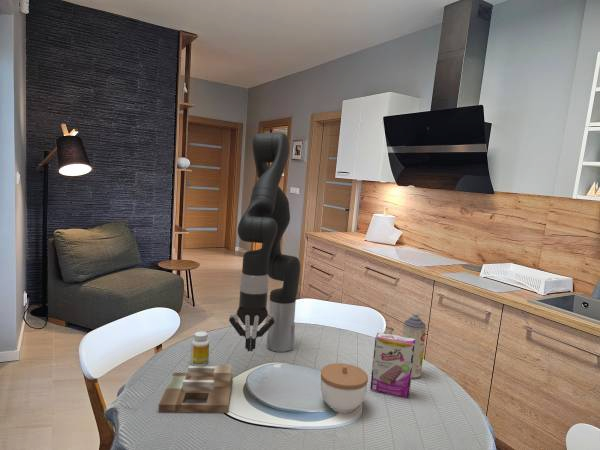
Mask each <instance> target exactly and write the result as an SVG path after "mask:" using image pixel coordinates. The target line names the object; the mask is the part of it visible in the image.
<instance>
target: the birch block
mask: <svg viewBox="0 0 600 450" xmlns="http://www.w3.org/2000/svg"><path fill="white" fill-rule="evenodd" d="M232 370H233V369H232V365H226V364H225V365H224V364H223V365H217V364H216V365H215V370H214V387H230V383H231V374H232Z"/></svg>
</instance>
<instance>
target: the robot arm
mask: <svg viewBox="0 0 600 450" xmlns="http://www.w3.org/2000/svg"><path fill="white" fill-rule="evenodd" d="M251 143H252V153H253V159H254V165H255V169H256V174H257V180H256V181H255V183H254V186H253V188H252V191H251V195H250V201H249V204H248V206H247V209H246V211H244V213H243V214H242V216H241V218H240V221H239V223H238V225H237V236H238V238H239V239H240V240H241V241H243V242H245V243H253V244H254V243H257V244H262V246H261V247H260V248H259V249H254V250H249V251H246V252H244V253H243V255H242V268H241V269H242V270H241V277H240V285H239V303H238V307H237V311H236V313H235V314H233V315H232V314H231V315H230V316H229V318H228V319H229V320H228V322H229V323H230V324H231V326H232V327H233V329H235V332H237V334H238V335H239V336H240V337H244V338H245V343H244V348H245V350H247V352H253V351H254V350H255V349H256V345H257V338H261V337H263V336H264V335H265V334H266V333H267V334H266V337H267V339H266V348H267V349H268V350H270V351H272V352H278V353H283V352H284V353H285V352H289V351H294V345H295V344H294V343H295V341H294V340H295V329H296V328H295V327H296V323H295V319H296V317H295V316H296V301H297V294H298V292H299V291H298V290H299V282H300V274H301V263H300V262H301V261H300V260H299V258H298V257H297V256H295V255H287V254H282V251H281V240H282V237H283V236H284V233H285V232H286V231H287V228H288V226H289V224H290V220H291V212H290V210H291V209H290V204H289V203H290V202H289V199H288V197H287V195H286V194H285V192H284V191H283V189H282V187H280V186H279V185H280V181H281V179H282V176H283V173H284V171H285V168H286V165H287V162H288V159H289V154H290V143H289V139H288V136H287V134H286V133H284V132H279V131H277V132H262V133H261V132H260V133H255V134H254V135H253V137H252V142H251ZM269 163H271V164H270V166H269V165H268V164H269ZM269 278H270V279H272V280H275V281H279V282H283V284H282V287H281V288H275V289H273V290H271V291H270V293H269V301H268V290H269ZM268 302H269V305H268V308H267V303H268ZM267 309H268V310H267ZM239 319H240V321H241V323H242V324H243V325H244V328H243V327H242V325H241V324H240V323H239ZM264 321H265V323H264V324H263V325H262V327H260V328H259V330H258V327H259V326H260V325H261V324H262V323H263V322H264ZM251 327H252V329H251ZM244 329H245V330H244ZM251 330H252V331H251Z"/></svg>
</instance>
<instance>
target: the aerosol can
mask: <svg viewBox="0 0 600 450" xmlns="http://www.w3.org/2000/svg"><path fill="white" fill-rule="evenodd" d="M402 326H403V327H402V337H407V338H413V339H415V340H416V341H415V350H414V359H413V368H412V377H411V380H419V379H421V377H422V369H423V358H424V350H425V349H424V348H425V338H426V332H427V330H426V329H427V327H426V323H425V322H423V319H421V318H420V316H419V313H417V312H413V313H412V316H410V317H409V318H408V319H406V320H404V322H403V325H402Z"/></svg>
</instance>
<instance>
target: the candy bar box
mask: <svg viewBox="0 0 600 450" xmlns="http://www.w3.org/2000/svg"><path fill="white" fill-rule="evenodd" d="M402 336H403V335H402ZM402 336H401V335H396V334H391V333H386V332H379V331H377V333H376V335H375V339H374V348H373V349H374V350H373V357H372V367H371V369H372V370H371V378H370V379H371V380H370V387H369V389H370V391H373V392H379V393H383V394H386V395H391V396H395V397H400V398H403V399H409V396H410V391H411V388H412V387H411V384H412V379H411V377H412V368H413V359H414V350H415V341H416V340H415V339H413V338H407V337H402Z"/></svg>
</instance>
